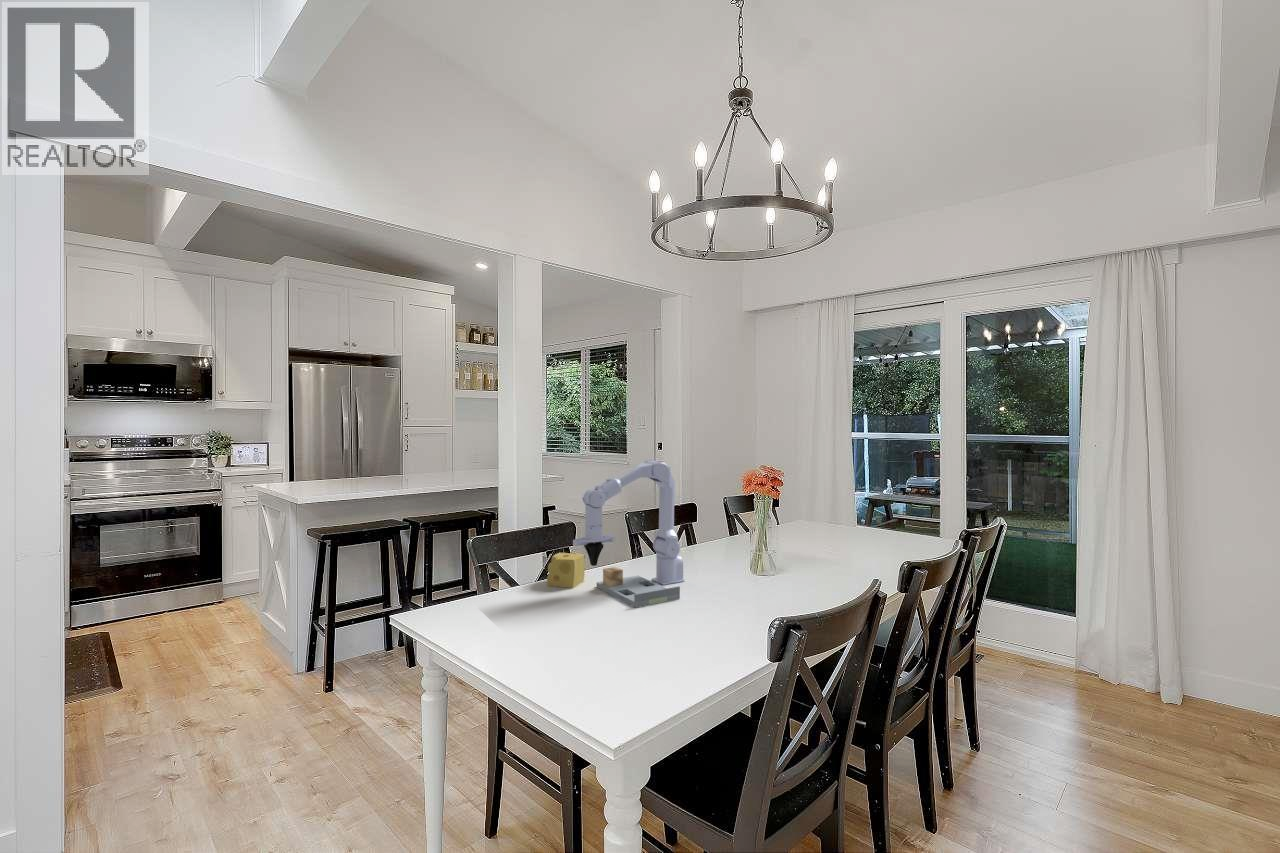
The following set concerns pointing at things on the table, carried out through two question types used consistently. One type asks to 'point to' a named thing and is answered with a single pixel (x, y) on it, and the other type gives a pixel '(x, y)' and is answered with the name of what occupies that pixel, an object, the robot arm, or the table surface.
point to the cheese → (566, 570)
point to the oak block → (613, 576)
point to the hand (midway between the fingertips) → (593, 565)
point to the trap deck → (641, 591)
